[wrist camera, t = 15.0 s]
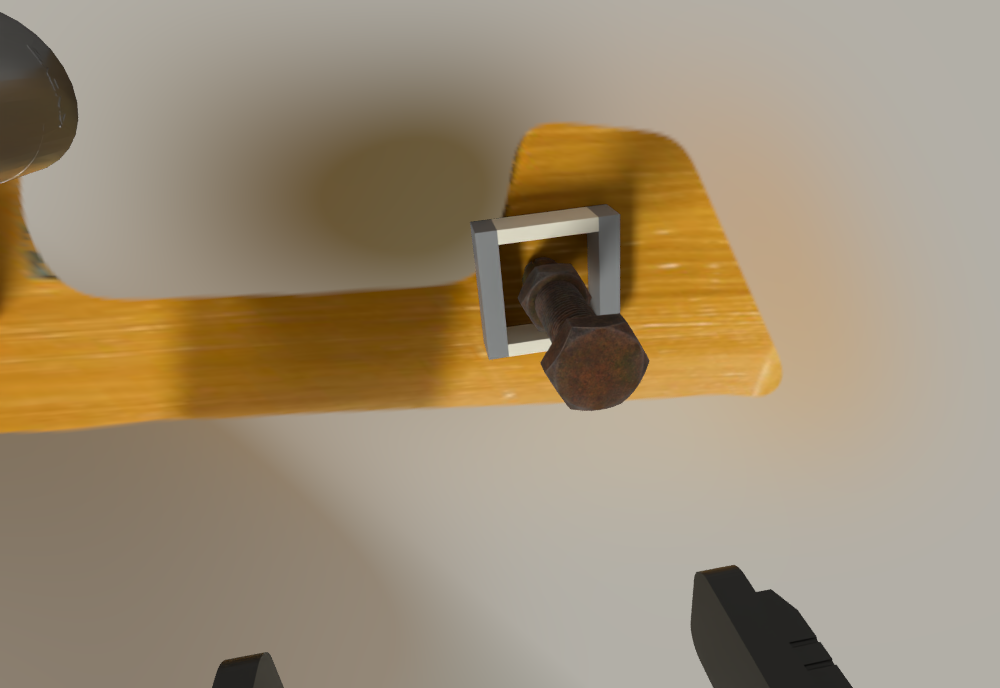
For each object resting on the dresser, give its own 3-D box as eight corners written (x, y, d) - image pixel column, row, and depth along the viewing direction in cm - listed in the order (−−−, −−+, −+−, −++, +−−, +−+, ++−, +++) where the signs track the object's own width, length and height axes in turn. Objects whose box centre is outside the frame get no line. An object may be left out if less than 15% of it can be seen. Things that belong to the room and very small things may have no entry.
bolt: (579, 240, 44) (656, 321, 31) (577, 303, 46) (648, 404, 33) (501, 246, 43) (546, 332, 30) (504, 310, 46) (546, 416, 32)
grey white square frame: (484, 342, 47) (489, 359, 44) (470, 221, 42) (474, 233, 40) (607, 323, 48) (620, 339, 45) (606, 204, 43) (620, 214, 41)
